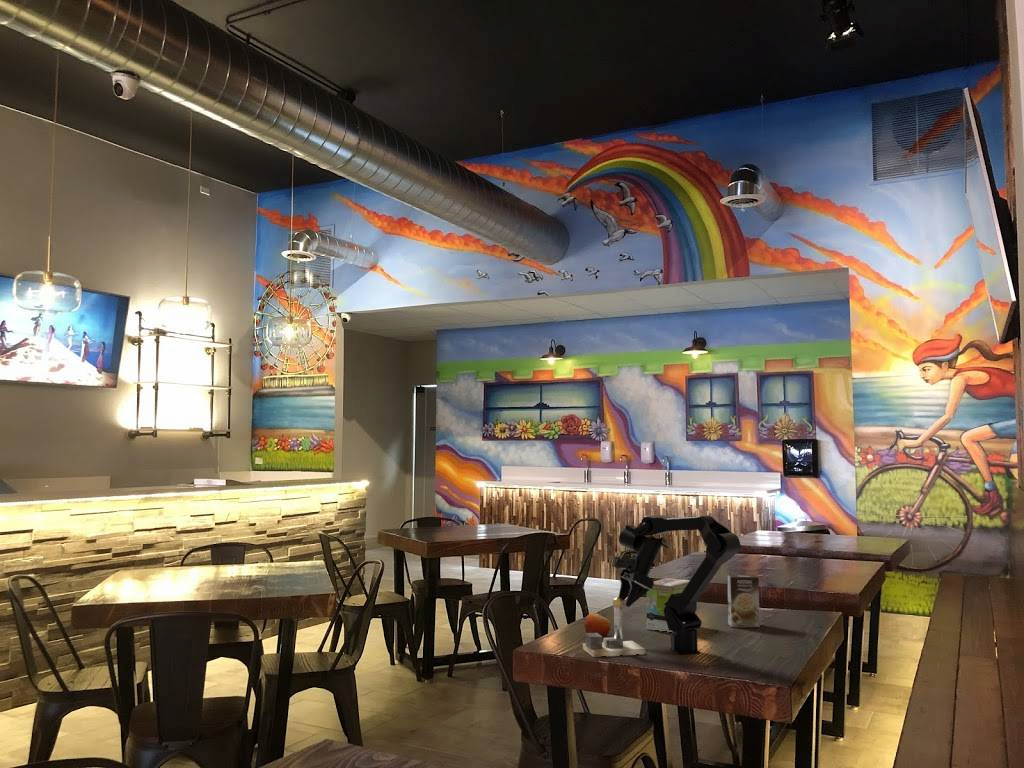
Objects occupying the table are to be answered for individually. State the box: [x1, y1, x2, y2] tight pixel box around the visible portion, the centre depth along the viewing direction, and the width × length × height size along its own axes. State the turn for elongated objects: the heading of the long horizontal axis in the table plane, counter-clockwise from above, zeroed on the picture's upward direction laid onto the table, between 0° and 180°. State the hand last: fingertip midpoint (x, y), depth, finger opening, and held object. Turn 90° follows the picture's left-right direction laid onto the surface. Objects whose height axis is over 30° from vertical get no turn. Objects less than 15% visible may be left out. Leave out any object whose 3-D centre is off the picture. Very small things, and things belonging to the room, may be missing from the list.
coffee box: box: [727, 573, 760, 628], centre depth 266 cm, size 9×6×16 cm
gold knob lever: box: [602, 596, 624, 647], centre depth 232 cm, size 6×3×13 cm, turn 102°
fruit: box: [584, 612, 612, 639], centre depth 251 cm, size 8×8×8 cm
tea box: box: [646, 577, 690, 633], centre depth 264 cm, size 15×10×15 cm, turn 143°
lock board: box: [582, 632, 646, 658], centre depth 232 cm, size 15×10×5 cm, turn 102°
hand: (622, 604), depth 239 cm, fingers open, 9 cm apart
